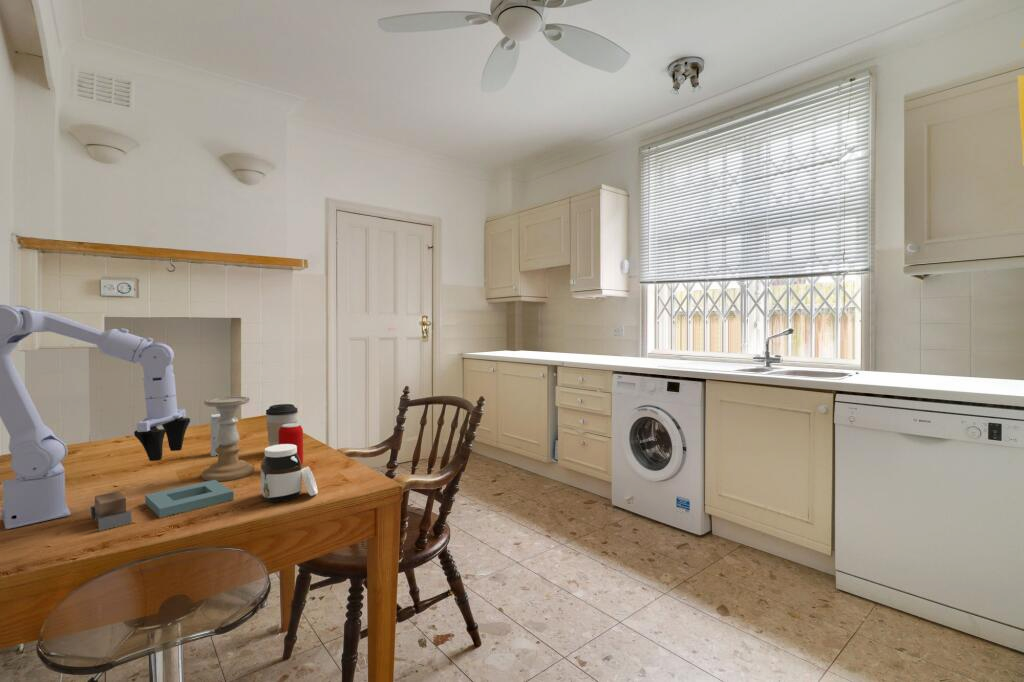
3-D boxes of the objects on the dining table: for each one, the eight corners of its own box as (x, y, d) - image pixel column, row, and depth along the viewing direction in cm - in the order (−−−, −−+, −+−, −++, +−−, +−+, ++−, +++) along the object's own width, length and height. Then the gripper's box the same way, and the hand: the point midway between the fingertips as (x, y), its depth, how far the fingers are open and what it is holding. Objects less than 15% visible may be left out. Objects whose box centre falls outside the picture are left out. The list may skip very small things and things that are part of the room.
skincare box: (210, 456, 145) (210, 416, 145) (210, 453, 149) (209, 414, 149) (234, 453, 149) (233, 414, 148) (233, 450, 152) (232, 412, 152)
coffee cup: (266, 450, 153) (266, 403, 152) (298, 447, 157) (297, 401, 156) (265, 457, 145) (265, 408, 144) (298, 454, 149) (298, 405, 148)
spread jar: (256, 495, 114) (256, 446, 114) (305, 484, 122) (304, 438, 122) (274, 509, 106) (273, 456, 105) (325, 496, 114) (325, 447, 113)
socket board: (160, 518, 100) (159, 508, 100) (145, 503, 108) (145, 494, 108) (233, 499, 111) (233, 491, 111) (215, 487, 119) (215, 479, 119)
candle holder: (257, 465, 137) (256, 394, 136) (250, 479, 126) (249, 401, 125) (207, 469, 133) (206, 396, 132) (195, 484, 121) (193, 404, 121)
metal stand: (99, 531, 94) (99, 518, 94) (90, 517, 100) (90, 506, 100) (131, 523, 98) (131, 511, 98) (120, 510, 104) (120, 499, 104)
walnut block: (101, 528, 96) (100, 503, 95) (95, 520, 100) (94, 496, 99) (126, 522, 99) (125, 498, 98) (119, 514, 103) (119, 491, 102)
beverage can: (280, 465, 138) (280, 423, 137) (304, 463, 140) (303, 421, 139) (277, 471, 132) (276, 427, 132) (302, 469, 134) (301, 426, 133)
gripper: (159, 401, 103) (165, 463, 104) (197, 390, 117) (201, 445, 118) (124, 403, 102) (130, 466, 103) (166, 391, 117) (171, 447, 117)
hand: (166, 455), depth 111 cm, fingers open, 7 cm apart
